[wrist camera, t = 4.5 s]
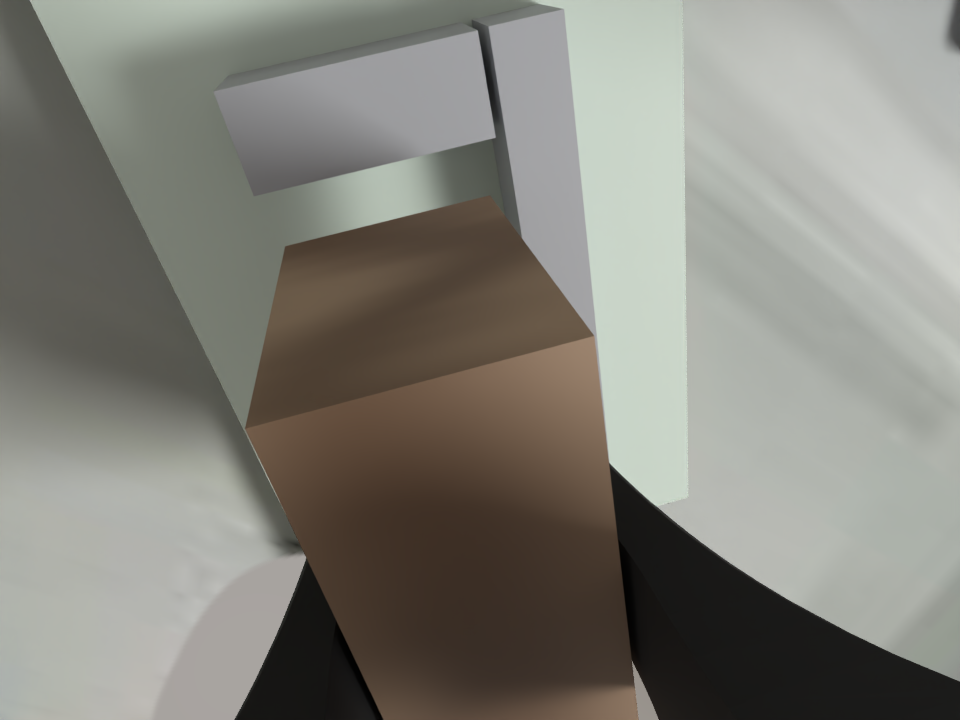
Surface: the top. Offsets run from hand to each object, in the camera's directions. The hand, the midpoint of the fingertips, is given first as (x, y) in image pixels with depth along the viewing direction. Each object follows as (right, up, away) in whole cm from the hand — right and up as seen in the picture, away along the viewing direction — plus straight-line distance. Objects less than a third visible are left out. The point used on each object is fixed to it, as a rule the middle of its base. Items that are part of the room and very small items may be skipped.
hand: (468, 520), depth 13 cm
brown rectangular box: (-1, +2, +2) cm, 3 cm away
